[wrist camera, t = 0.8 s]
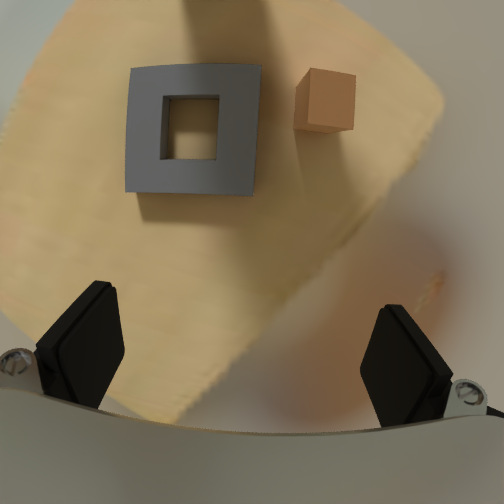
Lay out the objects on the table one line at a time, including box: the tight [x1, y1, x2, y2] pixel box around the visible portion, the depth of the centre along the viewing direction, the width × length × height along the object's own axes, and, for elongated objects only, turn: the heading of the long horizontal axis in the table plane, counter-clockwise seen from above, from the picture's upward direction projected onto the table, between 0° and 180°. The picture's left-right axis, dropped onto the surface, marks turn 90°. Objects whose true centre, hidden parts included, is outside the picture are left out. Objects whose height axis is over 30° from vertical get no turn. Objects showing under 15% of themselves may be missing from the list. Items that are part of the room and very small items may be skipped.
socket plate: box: [125, 63, 262, 196], centre depth 30 cm, size 14×14×3 cm
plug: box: [293, 68, 356, 133], centre depth 27 cm, size 5×4×9 cm
